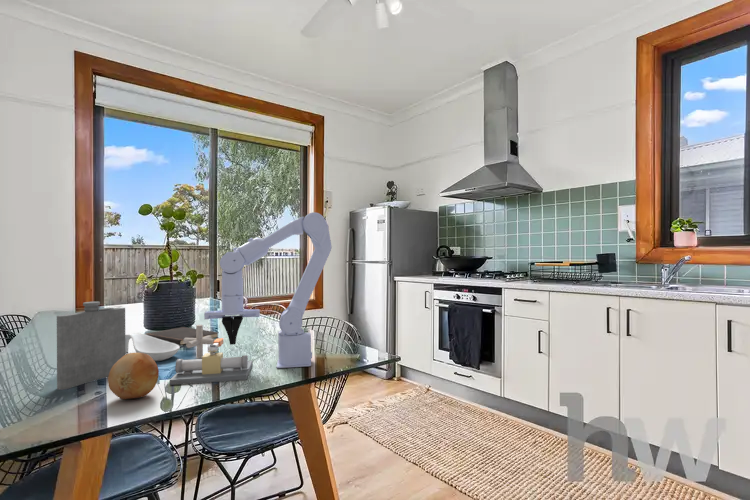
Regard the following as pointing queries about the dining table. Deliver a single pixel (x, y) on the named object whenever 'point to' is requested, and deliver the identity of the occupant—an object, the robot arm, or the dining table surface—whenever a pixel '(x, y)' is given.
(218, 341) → the valve lever
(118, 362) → the onion
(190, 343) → the pipe connector
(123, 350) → the hip flask
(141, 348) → the spoon rest
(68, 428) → the dining table surface
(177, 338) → the hardcover book
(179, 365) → the board
